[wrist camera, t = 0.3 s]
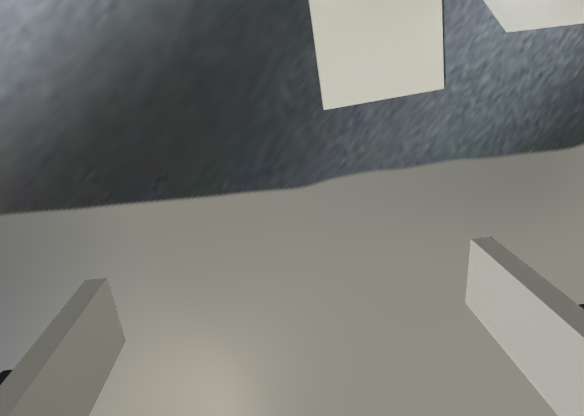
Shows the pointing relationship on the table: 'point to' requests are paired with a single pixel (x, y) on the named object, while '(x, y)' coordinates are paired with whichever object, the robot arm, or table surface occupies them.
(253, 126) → the table surface
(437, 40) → the mat
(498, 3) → the milk
